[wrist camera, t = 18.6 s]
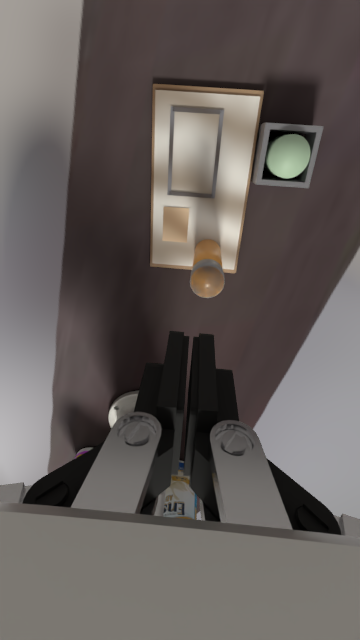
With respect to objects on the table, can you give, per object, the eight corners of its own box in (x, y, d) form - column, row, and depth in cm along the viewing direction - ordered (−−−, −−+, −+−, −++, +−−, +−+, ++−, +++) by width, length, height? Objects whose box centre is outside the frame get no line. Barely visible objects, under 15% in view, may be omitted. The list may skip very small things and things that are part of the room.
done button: (294, 176, 35) (304, 179, 31) (259, 173, 35) (266, 177, 31) (303, 136, 33) (315, 135, 29) (266, 134, 33) (274, 132, 29)
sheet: (235, 271, 41) (235, 274, 40) (150, 265, 41) (149, 267, 40) (263, 91, 31) (264, 90, 31) (153, 84, 32) (152, 83, 31)
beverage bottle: (166, 489, 64) (152, 618, 46) (147, 463, 60) (124, 592, 43) (204, 480, 62) (205, 612, 44) (186, 453, 58) (180, 584, 41)
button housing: (299, 184, 35) (308, 188, 32) (251, 180, 35) (255, 184, 32) (312, 128, 33) (323, 126, 30) (259, 124, 33) (265, 122, 30)
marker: (218, 266, 40) (221, 299, 31) (192, 263, 40) (188, 295, 31) (223, 240, 38) (227, 267, 29) (195, 237, 38) (191, 263, 29)
